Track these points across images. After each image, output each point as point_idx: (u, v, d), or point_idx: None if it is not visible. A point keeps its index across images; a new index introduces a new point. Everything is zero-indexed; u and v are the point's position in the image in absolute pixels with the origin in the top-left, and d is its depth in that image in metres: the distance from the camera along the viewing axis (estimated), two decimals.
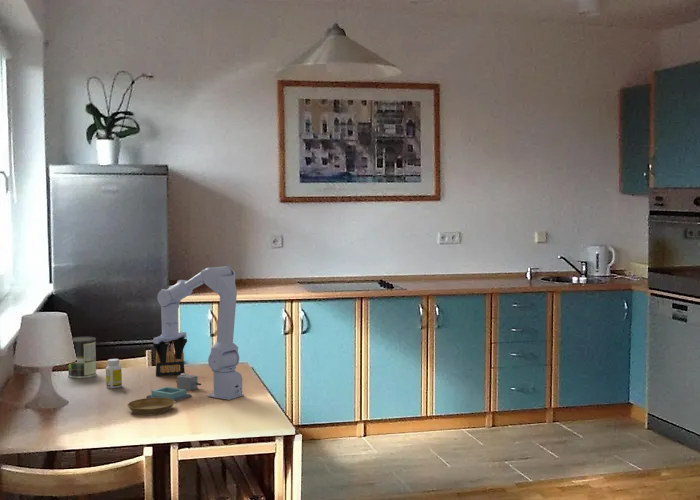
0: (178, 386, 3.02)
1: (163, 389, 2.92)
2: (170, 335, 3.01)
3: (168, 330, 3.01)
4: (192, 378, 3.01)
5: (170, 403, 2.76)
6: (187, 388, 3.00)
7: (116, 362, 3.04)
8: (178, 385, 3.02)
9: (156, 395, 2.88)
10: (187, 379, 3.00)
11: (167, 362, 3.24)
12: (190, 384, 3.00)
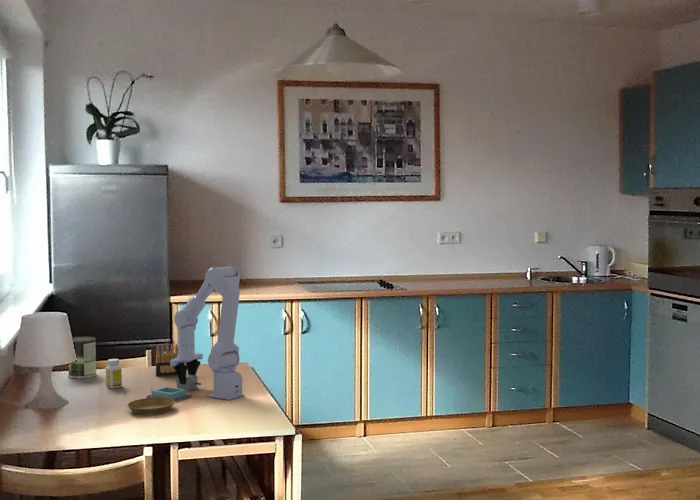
0: (178, 386, 3.02)
1: (163, 389, 2.92)
2: (187, 357, 2.99)
3: (185, 352, 2.99)
4: (192, 378, 3.01)
5: (170, 403, 2.76)
6: (187, 388, 3.00)
7: (116, 362, 3.04)
8: (178, 385, 3.02)
9: (156, 395, 2.88)
10: (187, 379, 3.00)
11: (167, 362, 3.24)
12: (190, 384, 3.00)
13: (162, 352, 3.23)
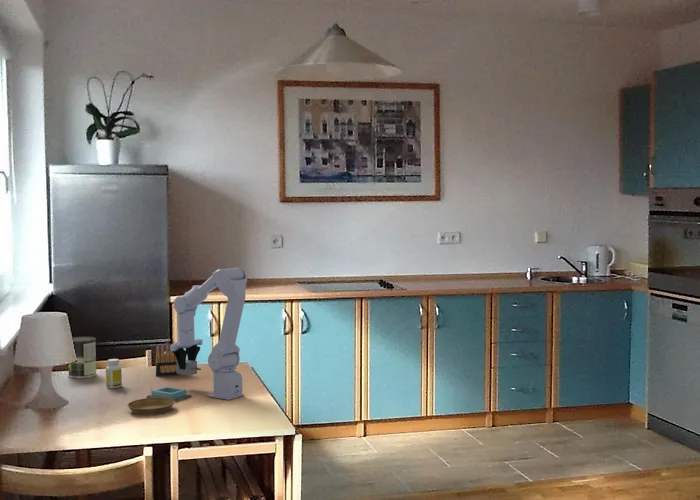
0: (178, 371, 3.02)
1: (163, 389, 2.92)
2: (186, 342, 2.99)
3: (185, 337, 2.99)
4: (192, 363, 3.00)
5: (170, 403, 2.76)
6: (187, 373, 3.00)
7: (116, 362, 3.04)
8: (178, 370, 3.02)
9: (156, 395, 2.88)
10: (187, 364, 2.99)
11: (167, 362, 3.24)
12: (190, 369, 2.99)
13: (162, 352, 3.23)
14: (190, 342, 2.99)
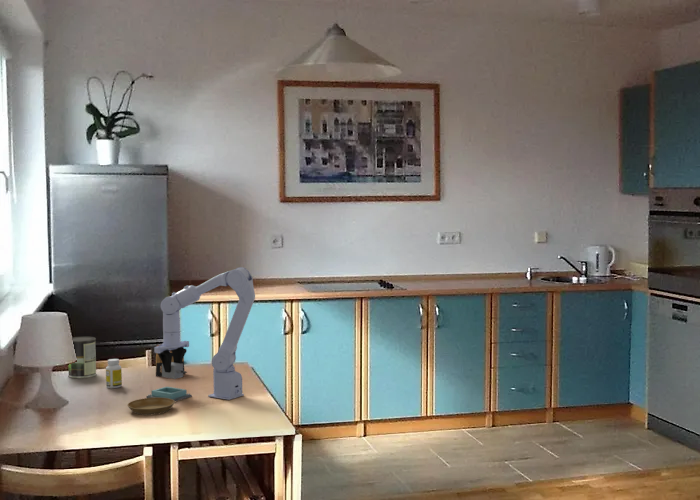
0: (163, 374, 2.92)
1: (163, 389, 2.92)
2: (172, 344, 2.88)
3: (170, 339, 2.88)
4: (177, 366, 2.90)
5: (170, 403, 2.76)
6: (172, 376, 2.89)
7: (116, 362, 3.04)
8: (163, 373, 2.92)
9: (156, 395, 2.88)
10: (172, 367, 2.89)
11: None
12: (175, 372, 2.89)
13: None
14: (176, 344, 2.89)
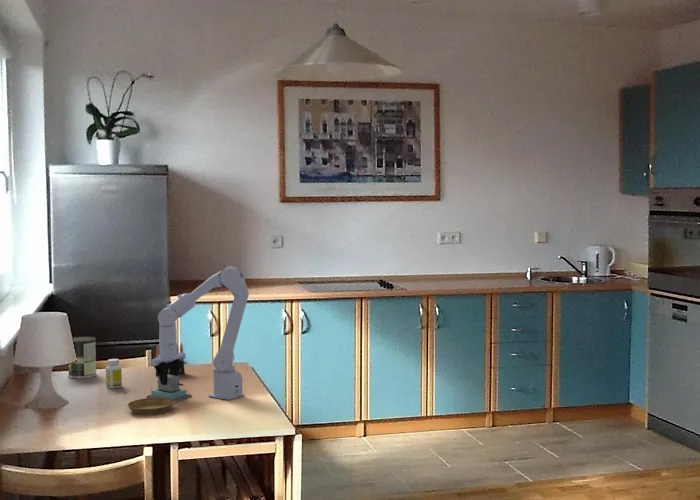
0: (159, 387, 2.89)
1: None
2: (168, 357, 2.86)
3: (166, 351, 2.86)
4: (174, 378, 2.87)
5: (170, 403, 2.76)
6: (168, 389, 2.87)
7: (116, 362, 3.04)
8: (159, 385, 2.89)
9: (156, 395, 2.88)
10: (168, 379, 2.86)
11: None
12: (172, 384, 2.86)
13: None
14: (172, 356, 2.86)
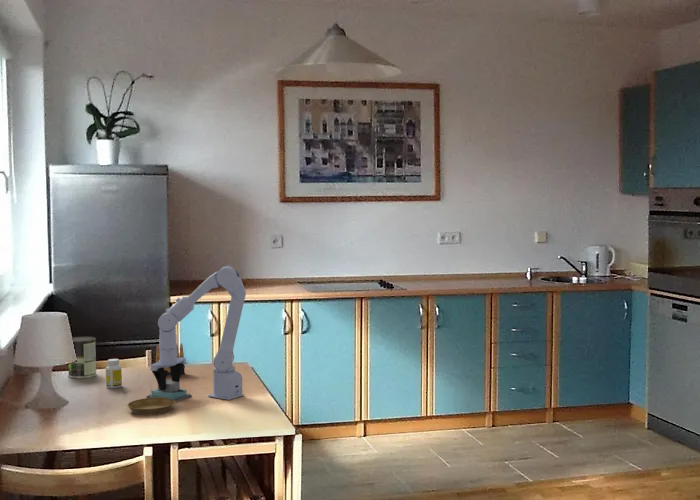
0: None
1: None
2: (168, 361, 2.86)
3: (166, 356, 2.86)
4: (174, 384, 2.87)
5: (170, 403, 2.76)
6: None
7: (116, 362, 3.04)
8: None
9: (156, 395, 2.88)
10: (169, 385, 2.87)
11: None
12: (172, 391, 2.87)
13: None
14: (172, 361, 2.87)
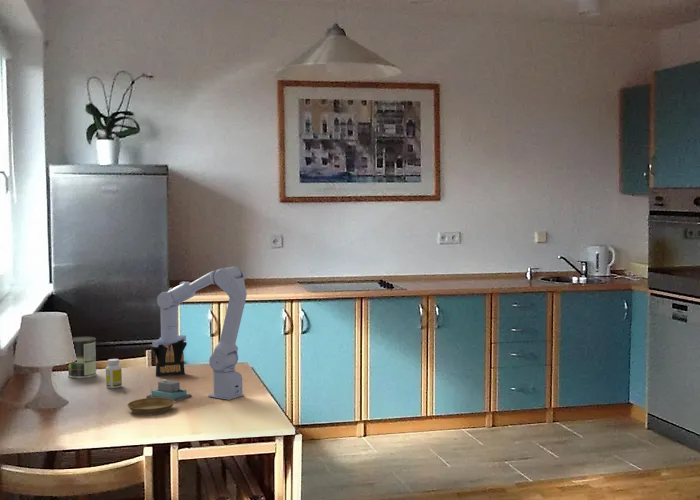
0: None
1: None
2: (169, 338, 2.94)
3: (168, 333, 2.94)
4: (174, 384, 2.87)
5: (170, 403, 2.76)
6: None
7: (116, 362, 3.04)
8: None
9: (156, 395, 2.88)
10: (169, 385, 2.87)
11: (167, 362, 3.24)
12: (172, 391, 2.87)
13: None
14: (173, 338, 2.95)
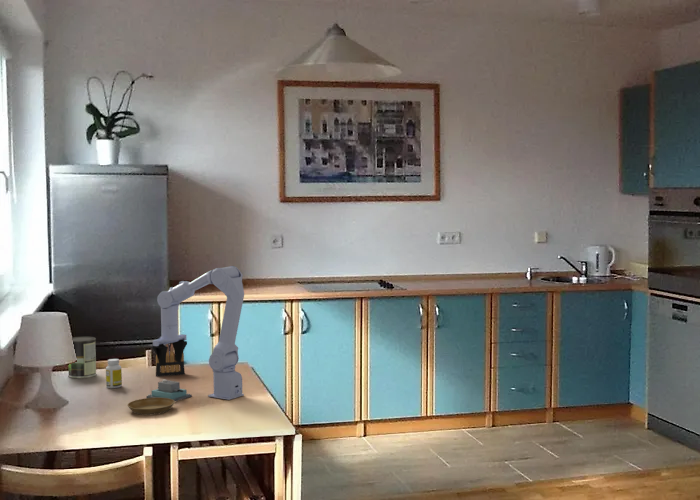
0: None
1: None
2: (170, 337, 2.96)
3: (168, 332, 2.96)
4: (174, 384, 2.87)
5: (170, 403, 2.76)
6: None
7: (116, 362, 3.04)
8: None
9: (156, 395, 2.88)
10: (169, 385, 2.87)
11: (167, 362, 3.24)
12: (172, 391, 2.87)
13: None
14: (173, 337, 2.97)
